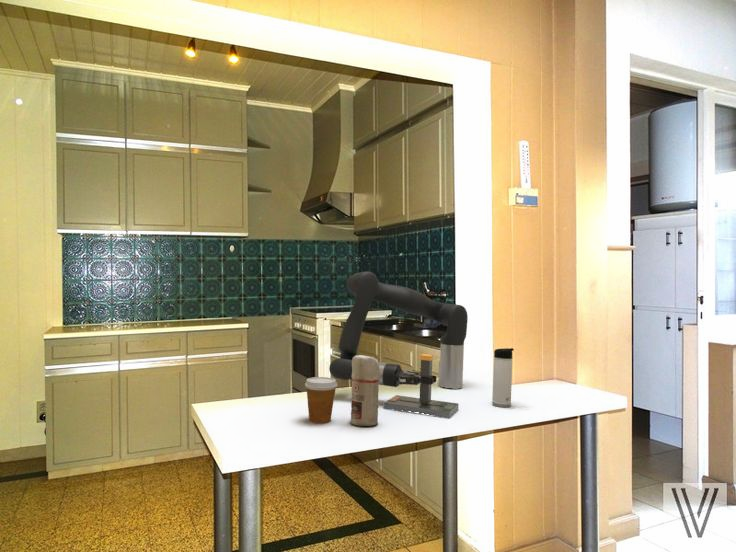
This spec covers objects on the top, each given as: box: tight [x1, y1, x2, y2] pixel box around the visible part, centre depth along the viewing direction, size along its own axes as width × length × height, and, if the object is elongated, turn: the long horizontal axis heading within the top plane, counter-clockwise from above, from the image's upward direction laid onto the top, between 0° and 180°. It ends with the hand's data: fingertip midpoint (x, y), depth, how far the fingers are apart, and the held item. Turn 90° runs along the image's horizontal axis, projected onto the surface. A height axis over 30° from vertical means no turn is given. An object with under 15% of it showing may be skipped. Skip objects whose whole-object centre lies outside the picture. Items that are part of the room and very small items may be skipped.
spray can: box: [349, 354, 380, 427], centre depth 144 cm, size 8×8×20 cm
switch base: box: [383, 394, 460, 419], centre depth 163 cm, size 22×12×2 cm, turn 66°
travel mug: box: [491, 347, 514, 409], centre depth 171 cm, size 6×7×20 cm
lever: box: [419, 353, 434, 404], centre depth 162 cm, size 3×3×16 cm
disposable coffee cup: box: [304, 376, 338, 424], centre depth 146 cm, size 10×10×12 cm
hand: (434, 380), depth 161 cm, fingers closed on lever, 3 cm apart
